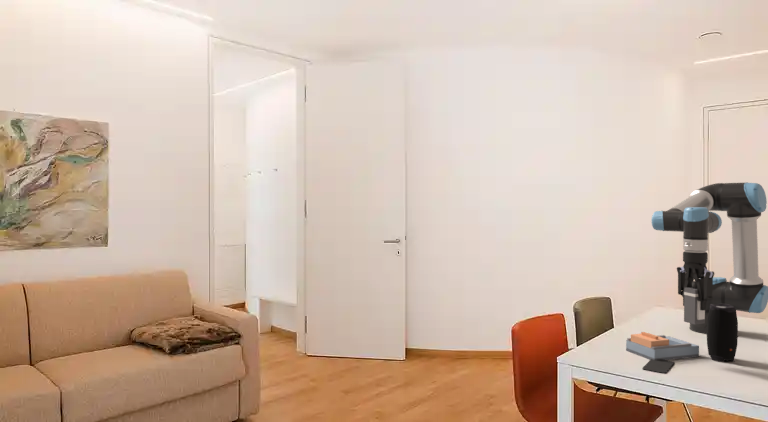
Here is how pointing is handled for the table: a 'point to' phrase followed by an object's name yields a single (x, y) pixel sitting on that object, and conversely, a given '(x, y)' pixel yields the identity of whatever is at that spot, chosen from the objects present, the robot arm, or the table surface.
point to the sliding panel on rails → (664, 349)
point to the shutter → (649, 340)
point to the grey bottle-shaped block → (691, 304)
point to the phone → (658, 366)
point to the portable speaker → (722, 332)
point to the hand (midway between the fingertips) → (694, 317)
